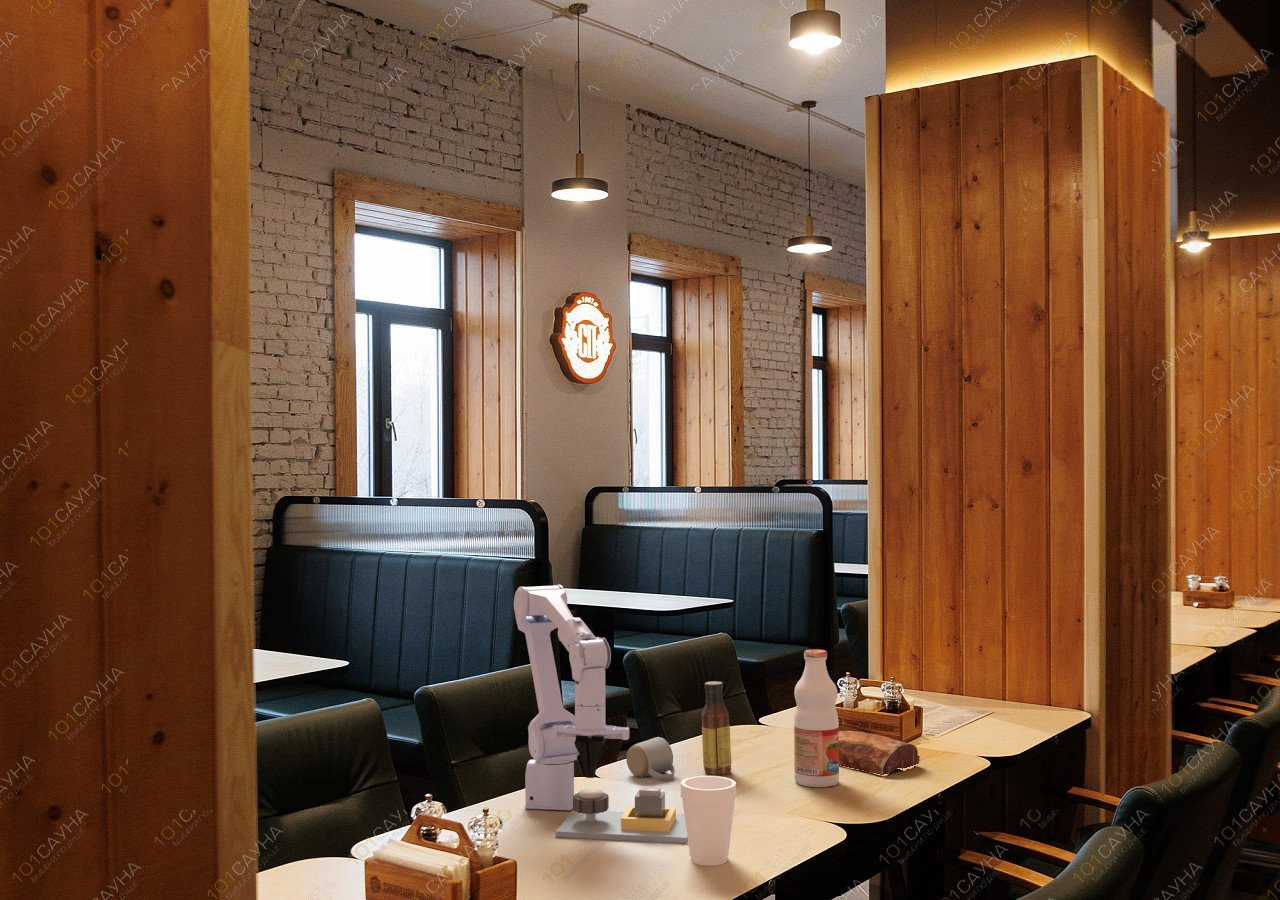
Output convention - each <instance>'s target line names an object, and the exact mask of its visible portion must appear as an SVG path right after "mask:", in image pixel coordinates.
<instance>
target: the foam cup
mask: <svg viewBox="0 0 1280 900" xmlns="http://www.w3.org/2000/svg"><path fill="white" fill-rule="evenodd" d="M680 798H682V799H681V800H682V806H683V807H682V808H683V813H684V815H685V822H686V830H687V837H688V841H687V844H688V850H689V856H690V861H692V863H694V864H696V865H700V866H710V867H711V866H713V867H714V866H719V865H723V864H725V863H727V861H729V860H728V859H729V854H730V845H731V837H732V836H731V835H732V827H733V820H734V819H733V818H734V809H735V801H736V798H737V782H736V781H735V780H734V779H732V778H729V777H724V776H720V775H698V776H691V777H687V778H685V779H683V780H682V781H681V782H680Z"/></svg>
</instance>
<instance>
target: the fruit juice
mask: <svg viewBox="0 0 1280 900" xmlns="http://www.w3.org/2000/svg"><path fill="white" fill-rule="evenodd" d="M803 658H804V661H805V666H804V670H803V672H802V675H801V678H800V679H799V680H798V681H797V683H796V685H795V687H794V692H793V693H794V699H795V702H796V708H795V710H794V715H793V717H794V718H793V735H794V736H793V737H794V738H793V739H794V740H793V741H794V745H793V748H794V749H793V750H794V751H793V752H794V758H793V759H794V762H793V763H794V780H795V782H796V783H797V784H798V785H800V786H803V787H808V788H829V786H830V787H834V786H837V784H839V781H840V780H839V779H840V766H839V734H838V731H839V726H840V725H839V715H838V711H837V709H836V703H837V701H838V689H837V685H836V683H834V682H833V680H832V679H831V677H830V675H829V673H828V670H827V668H828V667H827V665H826V663H827V661H826V660H827V658H828V652H827V650H825V649H806V650H804V652H803Z"/></svg>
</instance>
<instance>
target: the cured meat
mask: <svg viewBox="0 0 1280 900" xmlns="http://www.w3.org/2000/svg"><path fill="white" fill-rule="evenodd" d="M838 734H839V765H841V766H845V767H849V768H854V769H859V770H864V771H867V772H871V773H876V774H880V775H884V774H888V773H890V774H891V772H893V771H896V770H897V768H902V769H903V768H907V767H910V766H913V765H916V764H918V765H919V764H920V762H921V760H920V757H921V756H920V755H918V754H919V751H918V748H917V747H916V746H915V745H914V744H913V743H909V742H904V741H900V740H897V739H893V738H891V737H887V736H884V735H880V734H875V733H869V732H868V733H867V732H861V731H855V730H838ZM841 766H840V767H841ZM845 767H844V768H845ZM849 768H848V769H849ZM854 769H853V770H854ZM859 770H858V771H859ZM867 772H866V773H867ZM871 773H870V774H871Z"/></svg>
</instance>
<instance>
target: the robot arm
mask: <svg viewBox="0 0 1280 900" xmlns="http://www.w3.org/2000/svg"><path fill="white" fill-rule="evenodd" d="M516 589H517V590H516V591H515V594H514V599H513V610H514V615H515V616H514V617H515V621H516V625H517V629H518V630H519V631H521V632H522V633H524V635H525V640H526V646H527V651H528V656H529V662H530V668H531V674H532V679H533V684H534V690H535V696H536V702H537V708H538V714H536V716H535V717H534V718H532V720H531V721H530V722H529V724H528V726H527V730H528V750H529V753H530V755H531V758H533V759H529V760H528V761H527V763H526V768H525V777H524V779H525V780H524V781H525V784H524V785H525V786H524V787H525V788H524V789H525V793H524V794H525V795H524V796H525V799H524V800H525V805H524V809H527V810H529V809H530V810H552V811H571V810H572V811H573V796H574V795H575V761H577V760H578V756H579V757H580V760H581V762H582V765H583V768H584V774H585V778H586V779H594V778H595V777H596V772H597V767H598V762H599V759H600V756H601V753H602V750H603V748H604V746H605V743H606V741H607V739H611V740H615V739H617V740H619V739H620V740H623V741H628V740H629V739H630V727H628V726H627V727H625V726H623V727H622V726H616V725H607V724H606V669H608V668H609V667H610V664H611V660H612V659H611V658H612V654H611V653H612V652H611V647H610V645H609V642H608V641H607V639H606V638H605V637H600V636H597V637H596V636H595V635H594V633H593V632H592V630H591V629H590V628H589V627H588V626H587V624H586V623H585V622H584V621H583V620H582V618H581V617H574V616H573V614H572V612H571V610H570V609H569V606H568V595H567V591H566V589H565V588H564V587H563V585H561V584H556V585H541V586H540V585H539V586H519V587H518V588H516ZM555 629H558V630H557V637H558V640H560V642H561V643H562V645H563V646H564V648H565V650H567V652H568V653H569V654H568V657H569V663H570V668H571V675H572V676H571V677H572V680H574V714H573V713H571V711H568V710H567V709H565V708H564V704H563V699H562V694H561V688H560V682H559V678H558V673H557V667H556V661H555V656H554V652H553V646H552V640H551V632H552V631H554V630H555Z"/></svg>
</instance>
